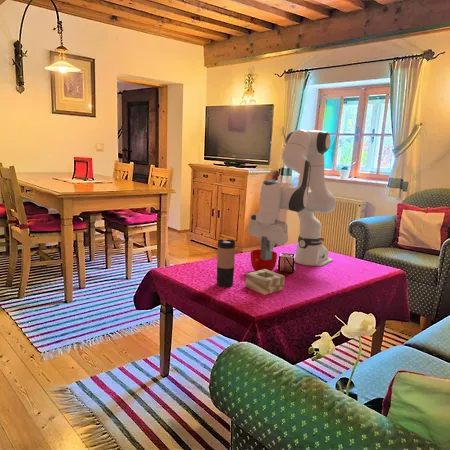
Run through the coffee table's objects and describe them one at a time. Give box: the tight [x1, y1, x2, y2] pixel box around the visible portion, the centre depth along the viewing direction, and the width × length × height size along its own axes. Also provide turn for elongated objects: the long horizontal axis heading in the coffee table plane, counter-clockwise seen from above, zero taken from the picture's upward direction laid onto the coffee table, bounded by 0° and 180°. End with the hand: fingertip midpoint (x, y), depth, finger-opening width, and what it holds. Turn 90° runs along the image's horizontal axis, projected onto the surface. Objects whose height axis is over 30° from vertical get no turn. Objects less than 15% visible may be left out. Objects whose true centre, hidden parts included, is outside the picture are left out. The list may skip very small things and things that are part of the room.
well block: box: [245, 269, 286, 296], centre depth 177 cm, size 12×12×6 cm
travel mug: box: [216, 238, 236, 288], centre depth 177 cm, size 8×8×20 cm
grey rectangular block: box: [260, 236, 272, 260], centre depth 173 cm, size 4×3×10 cm
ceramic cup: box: [250, 249, 278, 272], centre depth 196 cm, size 13×17×10 cm
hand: (266, 249), depth 174 cm, fingers closed on grey rectangular block, 3 cm apart
